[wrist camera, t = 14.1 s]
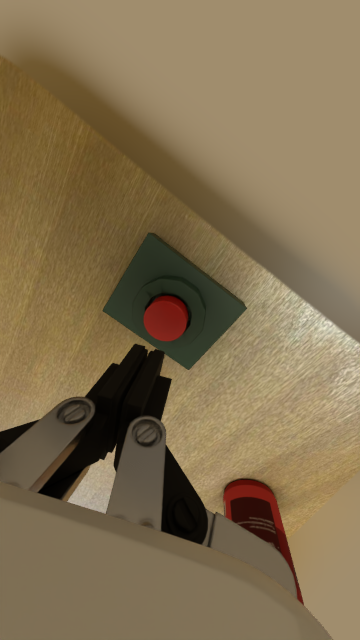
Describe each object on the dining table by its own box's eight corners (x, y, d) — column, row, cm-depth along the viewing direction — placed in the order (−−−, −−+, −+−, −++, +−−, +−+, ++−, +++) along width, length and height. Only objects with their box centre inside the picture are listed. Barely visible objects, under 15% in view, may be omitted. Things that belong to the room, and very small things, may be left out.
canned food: (246, 515, 33) (263, 639, 23) (211, 490, 32) (213, 608, 21) (286, 499, 30) (326, 631, 20) (250, 470, 29) (273, 596, 19)
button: (141, 317, 19) (135, 325, 17) (163, 287, 17) (158, 291, 16) (173, 339, 19) (170, 349, 17) (196, 311, 18) (195, 318, 16)
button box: (109, 305, 22) (92, 317, 19) (153, 232, 19) (142, 231, 15) (190, 361, 23) (187, 381, 20) (244, 303, 20) (251, 315, 17)
